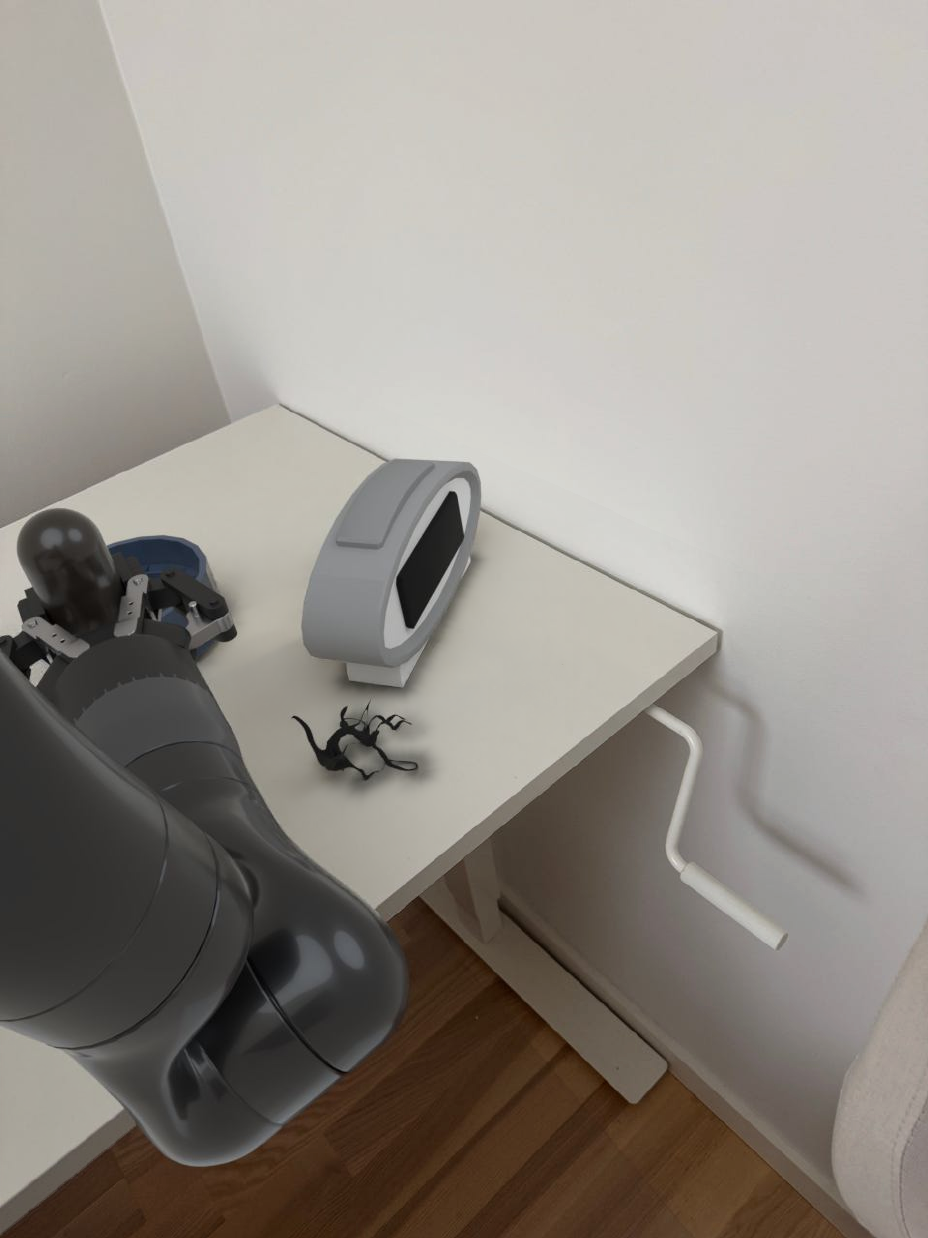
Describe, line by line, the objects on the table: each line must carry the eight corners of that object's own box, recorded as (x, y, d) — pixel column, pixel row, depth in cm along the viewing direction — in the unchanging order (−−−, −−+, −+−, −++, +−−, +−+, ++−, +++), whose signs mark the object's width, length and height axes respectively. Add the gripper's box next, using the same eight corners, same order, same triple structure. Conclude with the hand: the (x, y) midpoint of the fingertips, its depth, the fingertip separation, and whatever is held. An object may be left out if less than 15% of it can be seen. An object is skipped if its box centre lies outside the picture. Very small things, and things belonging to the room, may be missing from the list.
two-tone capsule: (103, 726, 59) (8, 548, 50) (87, 685, 62) (-4, 513, 54) (174, 693, 60) (94, 516, 52) (155, 656, 63) (77, 483, 55)
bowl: (84, 720, 76) (53, 664, 72) (50, 631, 86) (22, 578, 83) (249, 645, 81) (228, 589, 77) (199, 569, 91) (178, 516, 87)
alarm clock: (397, 719, 71) (362, 582, 63) (324, 708, 73) (280, 575, 65) (491, 540, 88) (472, 415, 80) (428, 536, 90) (404, 413, 82)
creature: (376, 715, 73) (287, 757, 69) (375, 657, 71) (282, 696, 66) (442, 766, 68) (351, 815, 64) (443, 705, 66) (348, 751, 61)
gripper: (264, 625, 46) (169, 487, 59) (-38, 759, 42) (-72, 579, 54) (302, 733, 51) (207, 585, 63) (34, 864, 46) (-13, 677, 59)
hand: (78, 583), depth 59 cm, fingers closed on two-tone capsule, 4 cm apart
